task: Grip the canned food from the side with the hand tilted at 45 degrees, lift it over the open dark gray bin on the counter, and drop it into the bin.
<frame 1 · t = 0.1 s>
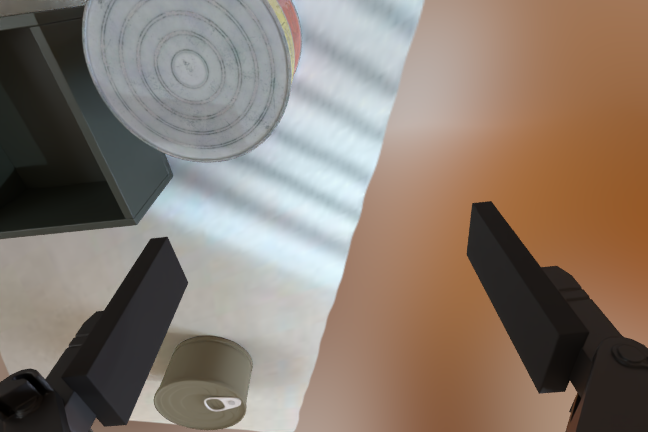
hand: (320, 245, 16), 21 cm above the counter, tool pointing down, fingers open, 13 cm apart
open dark gray bin: (63, 110, 34), on the counter
can: (213, 360, 54), on the counter
canned food: (234, 38, 30), on the counter
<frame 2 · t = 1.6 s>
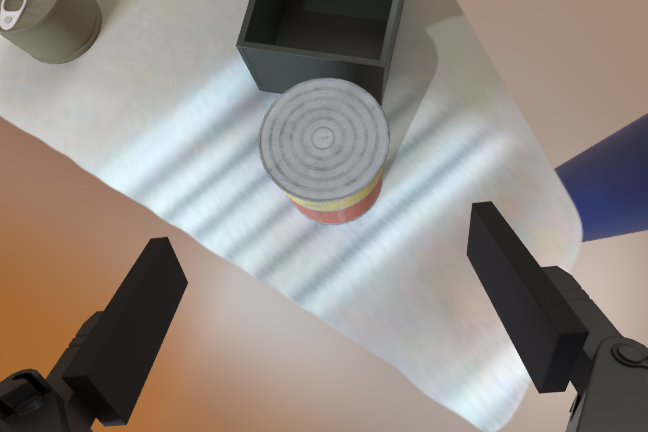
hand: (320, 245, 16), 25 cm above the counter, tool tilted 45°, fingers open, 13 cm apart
open dark gray bin: (332, 44, 46), on the counter
can: (63, 27, 51), on the counter
canned food: (333, 177, 43), on the counter
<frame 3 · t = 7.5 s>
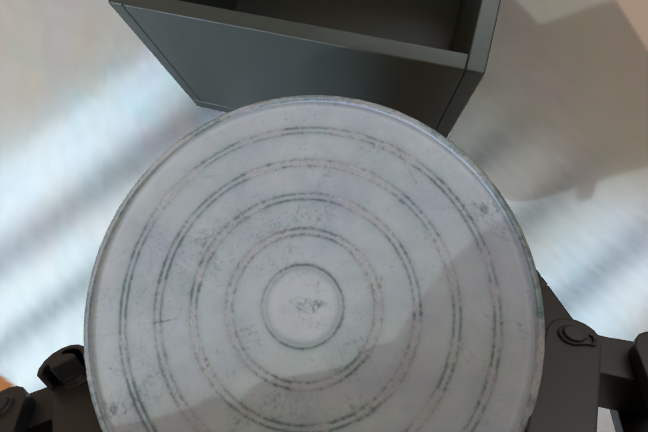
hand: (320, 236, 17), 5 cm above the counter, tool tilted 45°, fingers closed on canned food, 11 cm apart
open dark gray bin: (342, 24, 24), on the counter
canned food: (332, 296, 21), on the counter, touching gripper
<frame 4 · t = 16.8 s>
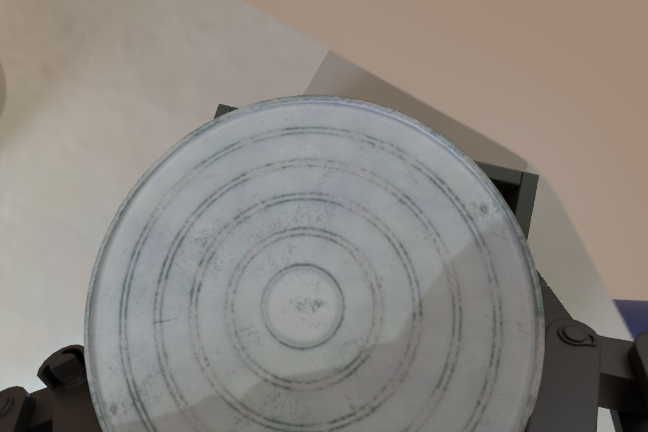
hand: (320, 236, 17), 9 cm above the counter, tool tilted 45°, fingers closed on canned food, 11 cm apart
open dark gray bin: (336, 295, 24), on the counter
canned food: (332, 296, 21), point 4 cm above the counter, touching gripper
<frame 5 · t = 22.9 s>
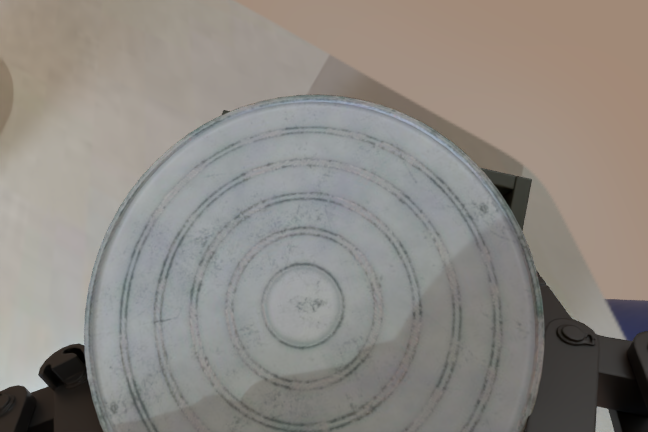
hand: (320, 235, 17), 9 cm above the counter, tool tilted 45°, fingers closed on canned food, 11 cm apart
open dark gray bin: (336, 294, 25), on the counter
canned food: (332, 296, 21), point 4 cm above the counter, touching gripper
when the fingers open (10 cm above the counter, at t = 28.8 s): canned food drops 4 cm, resting on open dark gray bin.
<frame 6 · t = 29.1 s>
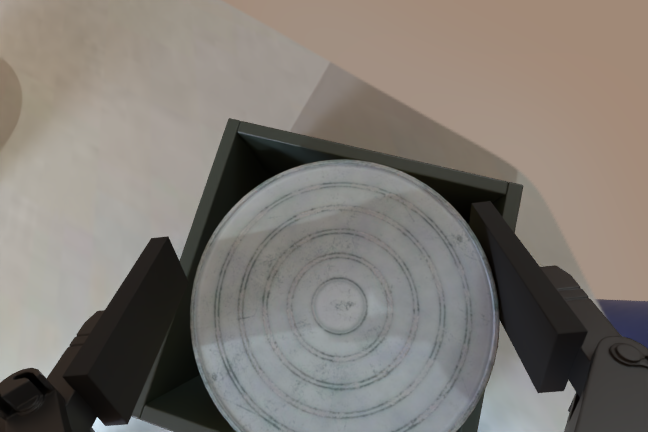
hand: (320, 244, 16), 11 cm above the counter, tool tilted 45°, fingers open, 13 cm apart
open dark gray bin: (337, 295, 26), on the counter
canned food: (346, 298, 25), point 1 cm above the counter, touching open dark gray bin
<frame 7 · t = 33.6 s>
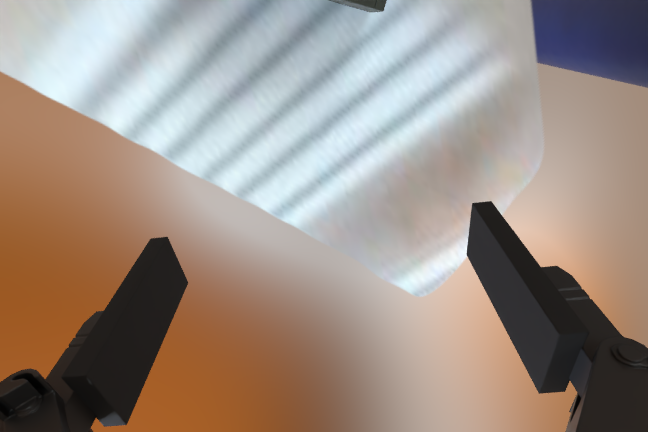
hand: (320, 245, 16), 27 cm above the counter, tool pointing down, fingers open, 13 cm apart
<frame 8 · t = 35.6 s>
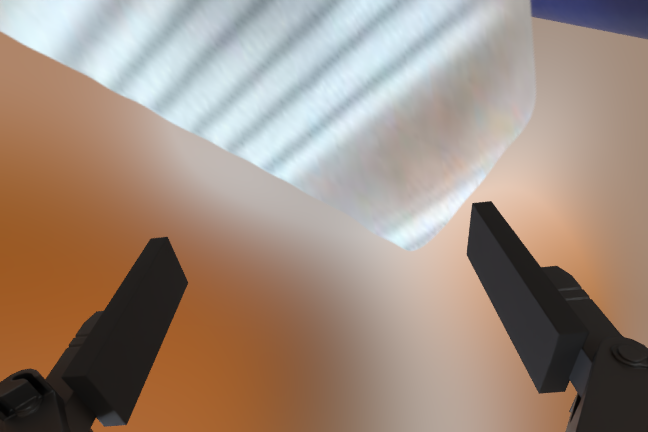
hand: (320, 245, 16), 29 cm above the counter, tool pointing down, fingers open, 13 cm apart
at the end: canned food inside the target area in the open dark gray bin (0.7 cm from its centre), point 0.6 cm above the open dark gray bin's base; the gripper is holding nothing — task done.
